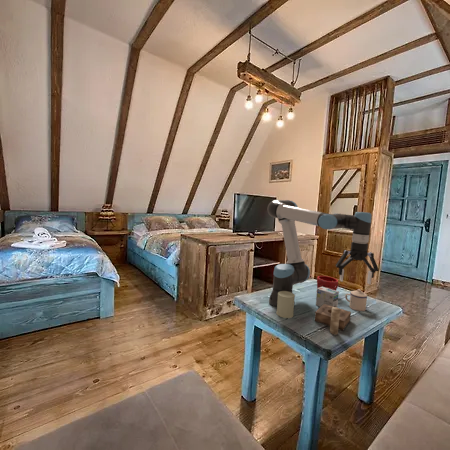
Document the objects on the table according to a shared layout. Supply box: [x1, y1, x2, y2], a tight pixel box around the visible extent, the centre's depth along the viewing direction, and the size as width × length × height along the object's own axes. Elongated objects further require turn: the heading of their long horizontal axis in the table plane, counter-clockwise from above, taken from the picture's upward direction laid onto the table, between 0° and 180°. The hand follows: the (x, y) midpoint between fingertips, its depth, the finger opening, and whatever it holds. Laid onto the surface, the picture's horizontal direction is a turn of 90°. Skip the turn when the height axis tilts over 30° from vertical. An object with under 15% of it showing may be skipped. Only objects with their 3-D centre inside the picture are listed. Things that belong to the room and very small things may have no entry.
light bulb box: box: [315, 287, 340, 308], centre depth 147 cm, size 11×7×11 cm, turn 41°
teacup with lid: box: [344, 288, 368, 312], centre depth 148 cm, size 12×9×12 cm
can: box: [275, 291, 296, 319], centre depth 135 cm, size 9×9×12 cm
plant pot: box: [316, 275, 339, 291], centre depth 165 cm, size 13×13×12 cm
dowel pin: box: [329, 307, 341, 335], centre depth 118 cm, size 4×4×12 cm
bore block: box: [314, 304, 352, 331], centre depth 130 cm, size 14×14×5 cm
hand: (354, 282), depth 128 cm, fingers open, 13 cm apart
